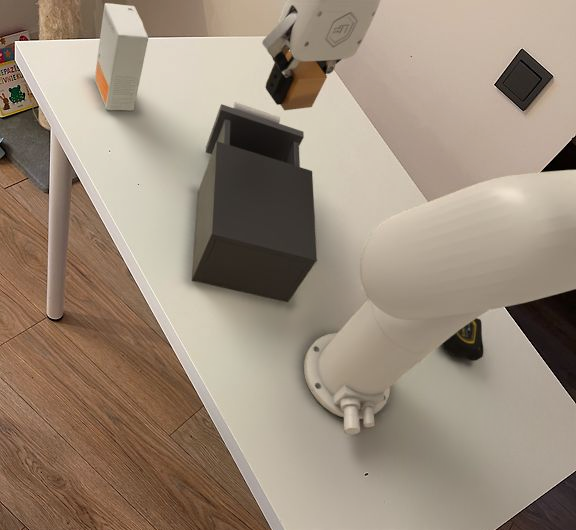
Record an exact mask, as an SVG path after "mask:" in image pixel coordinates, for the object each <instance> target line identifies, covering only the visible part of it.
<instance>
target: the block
mask: <svg viewBox="0 0 576 530" xmlns="http://www.w3.org/2000/svg"><path fill="white" fill-rule="evenodd" d="M291 57H292V53H291V52H290V50H289V51H288V53H287V54H286V58H287V60H288V61H289V60H290V58H291ZM274 65H275V62H273V66H272V68H271V71H270V72H269V75H268V78H267V80H266V82H265V85H266V84H267V81H268V79H269V76H270V74H271V72H272V69H273V67H274ZM326 75H327V74H326ZM326 75H325V73H324V72H323V71H322V69H321V68H320V66H319V65H318V64H317V62H316V61H300V63H299V64H298V66H297V67H296V69H295V70H294V72H293V73H292V75H291V76H292V77H293V81H292V83H291V86H290V88H289V90H288V92H287V94H286V97H285V99H284V101H283V103H282V104H280V107H281V108H282V110H284V111H290V110H291V111H292V110H300V109H308V108H313V105H314V103H315V102H316V101H317V98H318V96H319V94H320V92H321V90H322V88H323V86H324V84H325V82H326V80H327V78H328V75H327V76H326Z"/></svg>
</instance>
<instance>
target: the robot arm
mask: <svg viewBox="0 0 576 530" xmlns="http://www.w3.org/2000/svg"><path fill="white" fill-rule="evenodd" d="M380 3H381V0H285V3H284V6H283V8H282V10H281V13H280V16H279V18H278V22H277V25H276V26H275V28H273V29H272V31H271V32H269V34H268V35H266V36H265V38H264V39H263V40H262V42H261V43H262V46H263V47H264V49H265V50H266V51H267V53H268V54H269V56H270V57H271V58H272V61H273V63H275V65H274V64H273V65H274V67H273V66H272V68H273V69H272V68H271V70H272V72H271V71H270V73H271V74H270V73H269V75H270V76H269V75H268V77H269V79H268V78H267V80H268V81H267V80H266V82H267V84H266V83H265V90H266V91H267V94H268V95H269V96H270V97H271V99H272V100H273V102H274V103H275V105H277V106H279V105H280V104H282V103H283V101H284V99H285V97H286V94H287V92H288V90H289V88H290V86H291V83H292V81H293V77H292V76H291V75H292V73H293V72H294V70H295V69H296V67H297V66H298V64H299V63H300V61H316V62H317V64H318V65H319V66H320V68H321V69H322V71H323V72H324V73H325V75H326V76H327V77H328V75H330V74H332V73H333V72H334V70H335V68H336V65H337V64H338V63H340V62H341V61H342V60H347V59H350V58H352V57H353V56H355V54H357V52H358V50H359V48H360V46H361V45H362V43H363V40H364V39H365V37H366V35H367V33H368V30H369V29H370V26H371V24H372V22H373V19H374V18H375V15H376V13H377V11H378V8H379V6H380ZM288 51H290V52H291V53H292V57H291V58H290V60H289V61H288V60H287V58H286V54H287V53H288ZM280 106H281V105H280ZM359 262H360V263H359V277H360V282H361V285H362V288H363V291H364V292H365V295H366V296H367V300H366V301H365V302H364V303H363V304H362V305H361V306H360V308H359V309H358V310H357V311H356V312H355V313H354V315H352V317H351V318H350V319H349V320H348V321H347V322H346V323H345V324H344V326H343V327H342V328H341V329H340V330H339V331H338V332H331V333H328V334H324V335H323V336H320V337H319V338H317V339H316V340H315V341H314V342H313V343H312V344H311V345H310V346H309V348H308V350H307V352H306V354H305V357H304V359H303V373H304V378H305V381H306V385H307V387H308V389H309V391H310V392H311V394H312V396H313V397H314V398H315V399H316V401H317V402H318V403H319V404H320V405H321V406H323V408H325V409H326V410H328V411H329V412H331V414H334V415H336V416H338V417H341V418H343V426H344V427H343V429H344V433H345V434H347V435H356V434H359V433H360V432H361V426H360V425H361V423H360V420H362V421H363V427H364V428H373V427H375V425H376V423H375V414H377V413H378V412H380V411H381V410H382V409H383V408H384V407H385V405H386V404H387V402H388V399H389V397H390V394H391V386H392V385H394V384H395V383H396V382H397V381H399V380H400V379H401V378H402V377H403V376H404V375H406V374H407V373H408V372H410V371H411V370H412V369H413V368H414V367H415V366H417V365H418V364H419V363H421V361H423V360H424V359H425V358H426V357H428V356H429V355H430V354H431V353H433V352H434V351H435V350H437V349H438V348H439V347H440V346H441V345H442V344H443V343H444V342H445V341H446V340H447V339H449V338H450V337H451V336H452V335H454V334H455V333H456V332H458V331H459V330H460V329H462V328H463V327H464V326H466V325H467V324H469V323H470V322H472V321H473V320H475V319H476V318H478V319H479V317H481V316H482V315H484V314H485V313H487V312H488V311H490V310H495V309H496V310H497V309H502V308H506V307H512V306H516V305H521V304H525V303H529V302H533V301H537V300H540V299H544V298H548V297H552V296H556V295H559V294H563V293H566V292H571V291H573V290H576V169H565V170H551V171H540V172H530V173H528V172H527V173H520V174H512V175H505V176H501V177H496V178H492V179H489V180H484V181H481V182H478V183H475V184H472V185H469V186H466V187H463V188H461V189H459V190H456V191H454V192H450V193H448V194H445V195H442V196H440V197H438V198H437V197H436V199H432V200H430V201H427V202H424V203H421V204H419V205H416V206H414V207H411V208H409V209H405V210H403V211H400V212H398V213H396V214H394V215H392V216H389V217H388V218H386V219H384V220H383V221H382V222H381V223H379V225H377V226H376V227H375V228H374V230H372V232H371V233H370V235H369V236H368V238H367V239H366V242H365V244H364V246H363V249H362V251H361V255H360V261H359Z"/></svg>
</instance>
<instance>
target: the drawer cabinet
mask: <svg viewBox="0 0 576 530" xmlns="http://www.w3.org/2000/svg"><path fill="white" fill-rule="evenodd" d="M195 210H196V211H195V224H194V225H195V226H194V236H193V237H194V239H193V255H192V266H191V282H195V283H199V284H205V285H208V286H214V287H217V288H222V289H227V290H231V291H236V292H240V293H246V294H248V295H253V296H258V297H263V298H267V299H270V300H271V299H272V300H277V301H280V302H285V303H289V301H290V300H291V299H292V297H293V296H294V294H295V293H296V292H297V290H298V289H299V287H300V286H301V284H302V283H303V281H304V280H305V279H306V277H307V276H308V274H309V273H310V271H311V270H312V269H313V267H314V266H315V264H316V263H317V261H318V254H317V237H316V235H317V234H316V220H315V217H316V216H315V198H314V181H313V170H310V169H308V168H304V167H301V166H300V167H298V166H295V165H292V164H288V163H285V162H282V161H279V160H276V159H272V158H269V157H266V156H263V155H260V154H256V153H253V152H250V151H247V150H243V149H240V148H237V147H234V146H231V145H227V144H224V143H221V142H218V141H216V144H215V147H214V149H213V152H212V154H210V158H209V160H208V163H207V166H206V168H205V171H204V174H203V177H202V180H201V182H200V185H199V188H198V190H197V195H196V209H195Z"/></svg>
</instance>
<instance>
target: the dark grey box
mask: <svg viewBox="0 0 576 530" xmlns="http://www.w3.org/2000/svg"><path fill="white" fill-rule="evenodd" d="M233 103H234V104H233V107H231V106H228V105H226V104H220V106H219V109H218V112H217V114H216V118H215V120H214V122H213V125H212V128H211V131H210V134H209V137H208V139H207V143H206V146H205V153H206V154H209V155H212V152H213V149H214V147H215V144H216V141H218V142H221V143H224V144H227V145H231V146H234V147H237V148H240V149H243V150H247V151H250V152H253V153H256V154H260V155H263V156H266V157H269V158H272V159H276V160H279V161H282V162H285V163H288V164H292V165H295V166H298V167H301V161H300V160H301V159H300V158H301V157H300V146H301V144H302V142H303V140H304V138H305V133H304V131H303V130H300V129H297V128H294V127H291V126H288V125H286V124H282V123H280V122H281V117H280V116H277V115H275V114H272V113H269V112H266V111H263V110H260V109H257V108H254V107H252V106H248V105H245V104H242V103H239V102H236V101H235V102H233Z"/></svg>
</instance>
